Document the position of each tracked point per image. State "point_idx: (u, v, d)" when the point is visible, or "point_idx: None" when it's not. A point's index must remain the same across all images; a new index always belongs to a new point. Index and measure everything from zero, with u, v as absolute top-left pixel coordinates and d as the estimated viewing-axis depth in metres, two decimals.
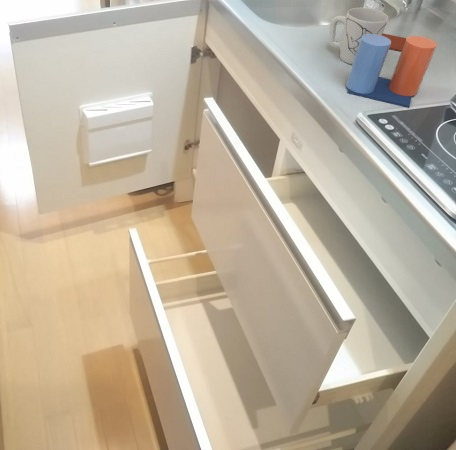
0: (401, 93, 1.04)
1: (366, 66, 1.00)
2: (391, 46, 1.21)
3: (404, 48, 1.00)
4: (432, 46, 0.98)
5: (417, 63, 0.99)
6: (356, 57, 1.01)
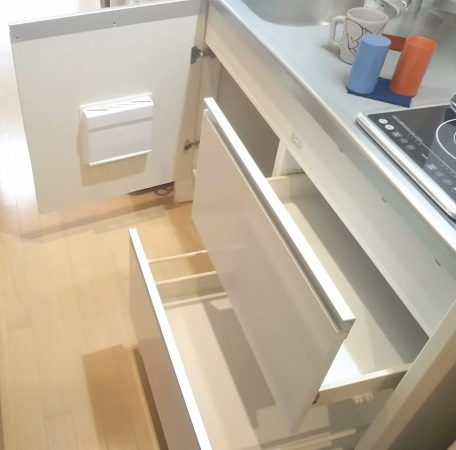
0: (401, 93, 1.04)
1: (366, 66, 1.00)
2: (391, 46, 1.21)
3: (404, 48, 1.00)
4: (432, 46, 0.98)
5: (417, 63, 0.99)
6: (356, 57, 1.01)
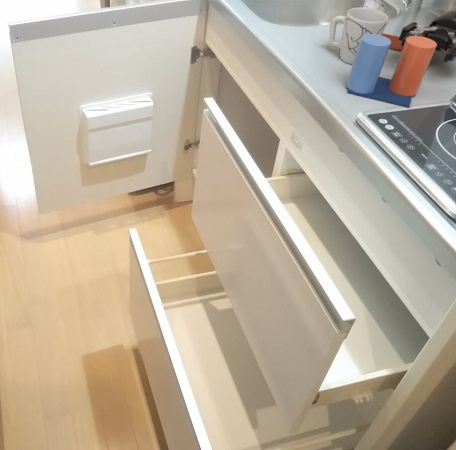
0: (401, 93, 1.04)
1: (366, 66, 1.00)
2: (391, 46, 1.21)
3: (404, 48, 1.00)
4: (432, 46, 0.98)
5: (417, 63, 0.99)
6: (356, 57, 1.01)
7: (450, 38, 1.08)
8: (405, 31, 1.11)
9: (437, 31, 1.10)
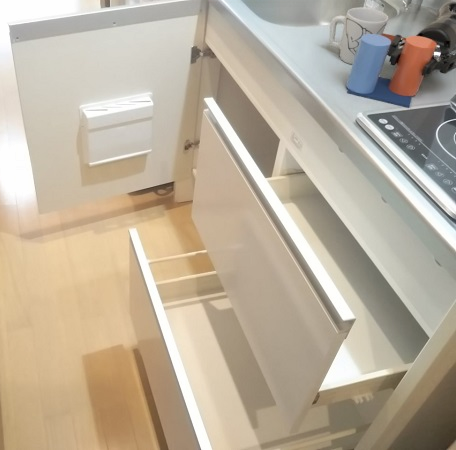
0: (401, 93, 1.04)
1: (366, 66, 1.00)
2: None
3: (404, 48, 1.00)
4: (432, 46, 0.98)
5: (417, 63, 0.99)
6: (356, 57, 1.01)
7: None
8: (394, 46, 1.05)
9: None
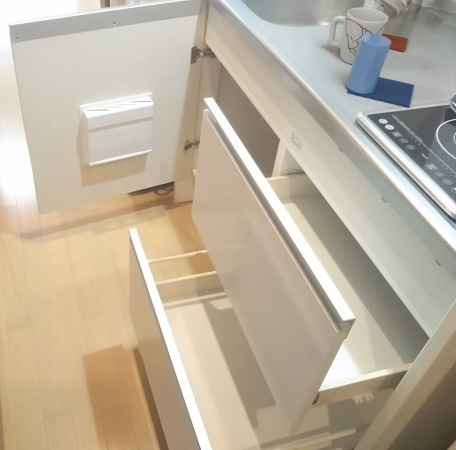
0: None
1: (366, 66, 1.00)
2: (391, 46, 1.21)
3: None
4: None
5: None
6: (356, 57, 1.01)
7: None
8: None
9: None
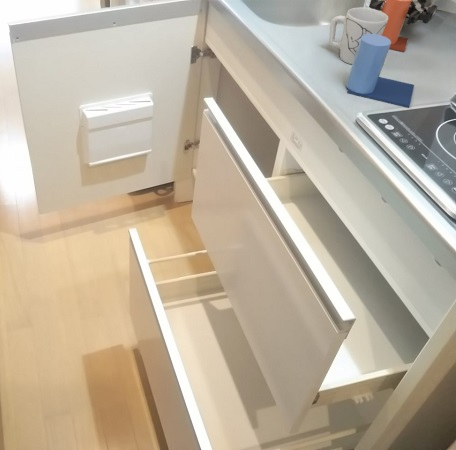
0: None
1: (366, 66, 1.00)
2: (391, 46, 1.21)
3: (385, 2, 1.19)
4: None
5: (396, 15, 1.18)
6: (356, 57, 1.01)
7: (413, 4, 1.21)
8: None
9: None
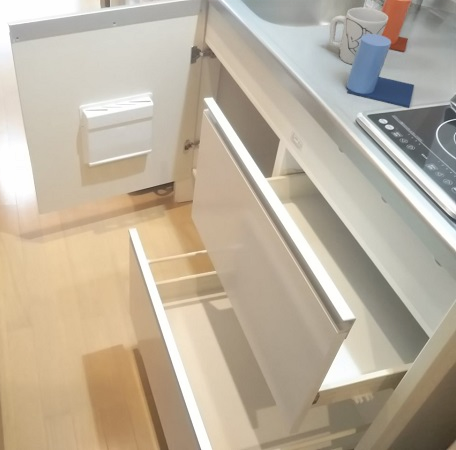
0: None
1: (366, 66, 1.00)
2: (391, 46, 1.21)
3: (385, 2, 1.19)
4: None
5: (396, 15, 1.18)
6: (356, 57, 1.01)
7: None
8: None
9: None
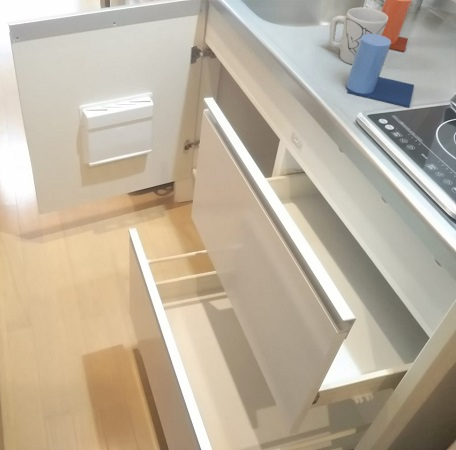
0: None
1: (366, 66, 1.00)
2: (391, 46, 1.21)
3: (385, 2, 1.19)
4: None
5: (396, 15, 1.18)
6: (356, 57, 1.01)
7: None
8: None
9: None
